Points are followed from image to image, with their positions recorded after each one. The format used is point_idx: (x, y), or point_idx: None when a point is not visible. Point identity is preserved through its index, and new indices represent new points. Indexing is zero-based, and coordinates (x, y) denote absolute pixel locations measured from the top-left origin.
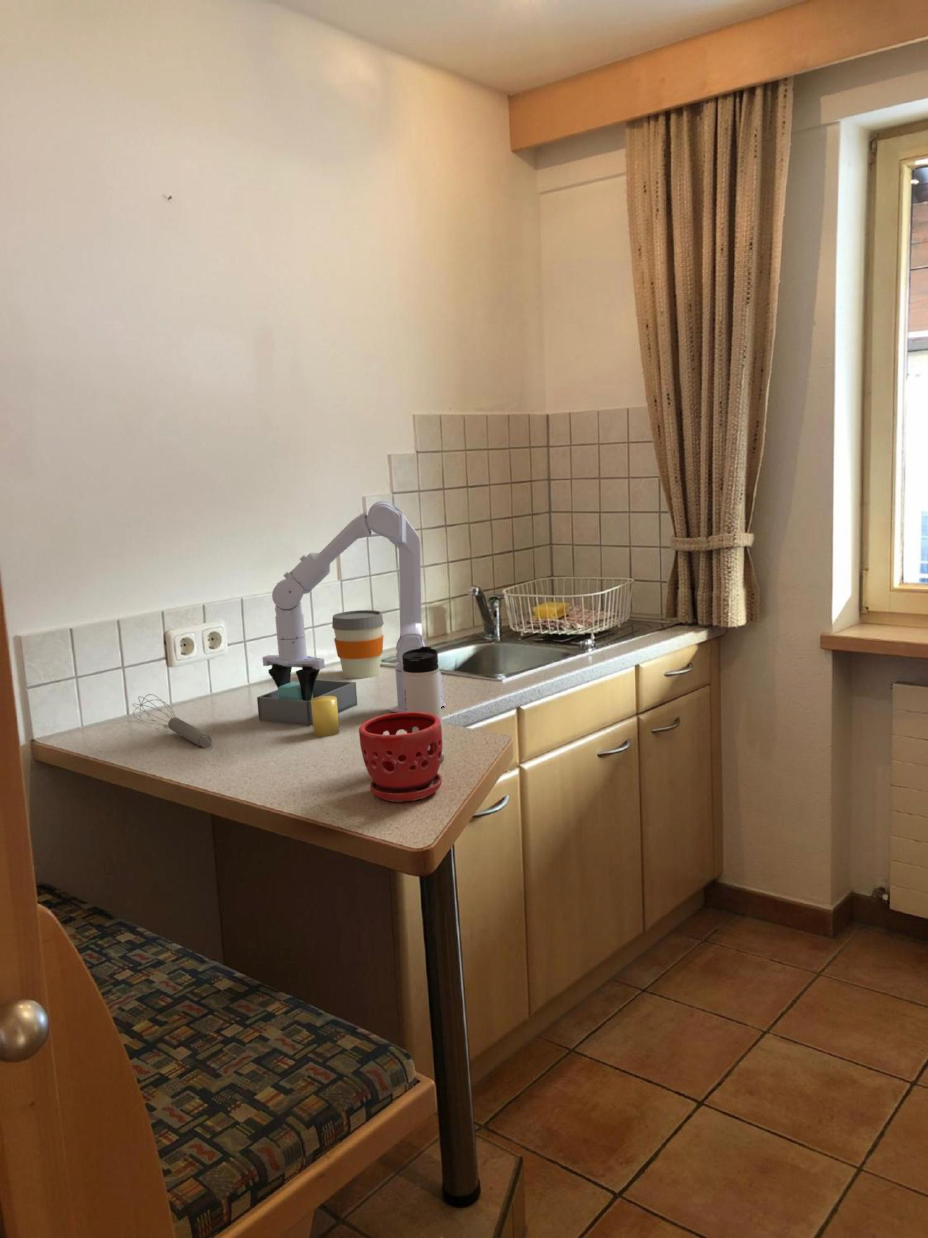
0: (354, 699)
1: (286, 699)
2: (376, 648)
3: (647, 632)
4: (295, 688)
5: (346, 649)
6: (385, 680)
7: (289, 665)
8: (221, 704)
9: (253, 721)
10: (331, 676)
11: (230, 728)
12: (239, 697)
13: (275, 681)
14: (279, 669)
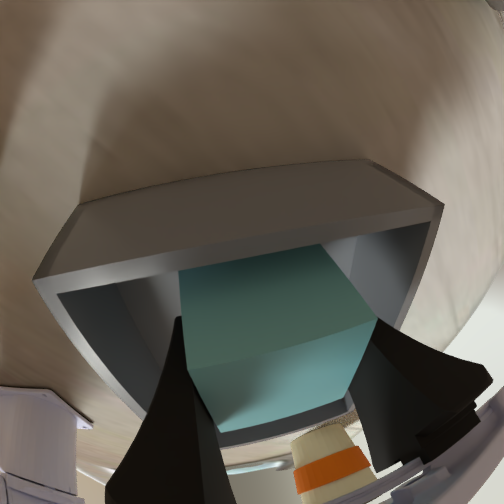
0: None
1: (235, 250)
2: (296, 480)
3: None
4: (207, 366)
5: (338, 466)
6: (259, 446)
7: (363, 496)
8: (486, 244)
9: (382, 143)
10: (356, 414)
11: (403, 37)
12: (466, 292)
13: (416, 347)
14: (426, 435)
